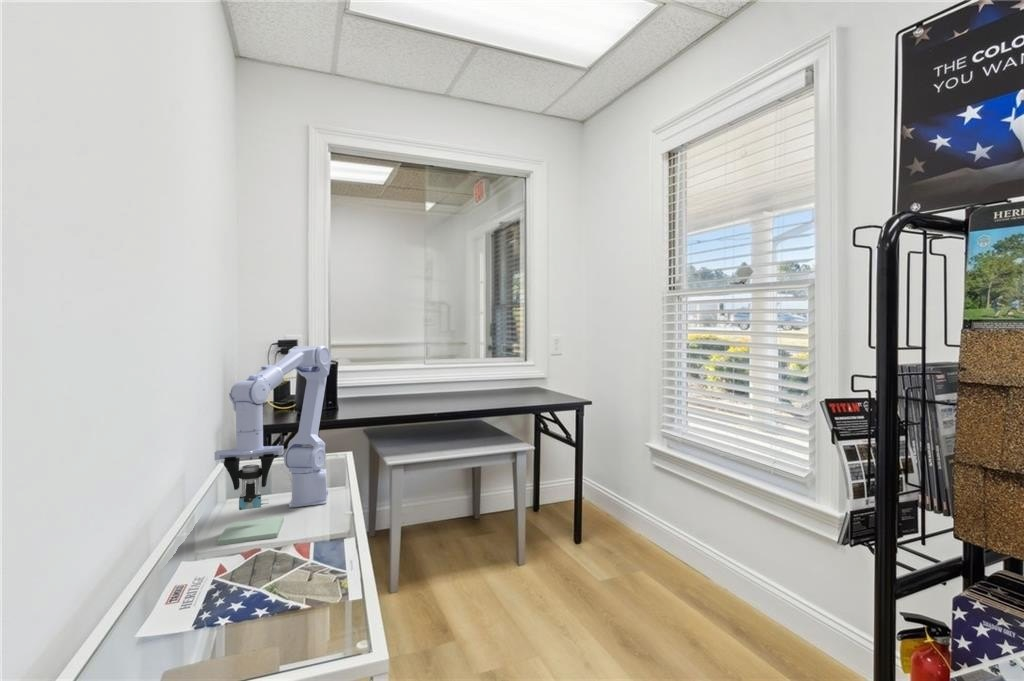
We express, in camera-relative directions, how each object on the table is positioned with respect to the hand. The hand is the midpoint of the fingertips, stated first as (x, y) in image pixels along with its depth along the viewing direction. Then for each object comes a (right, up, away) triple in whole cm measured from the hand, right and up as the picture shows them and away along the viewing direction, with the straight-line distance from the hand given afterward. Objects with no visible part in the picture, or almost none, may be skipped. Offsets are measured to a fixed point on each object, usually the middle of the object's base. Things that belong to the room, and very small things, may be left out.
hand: (250, 487), depth 118 cm
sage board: (+2, -10, -2) cm, 10 cm away
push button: (0, -5, +1) cm, 5 cm away
